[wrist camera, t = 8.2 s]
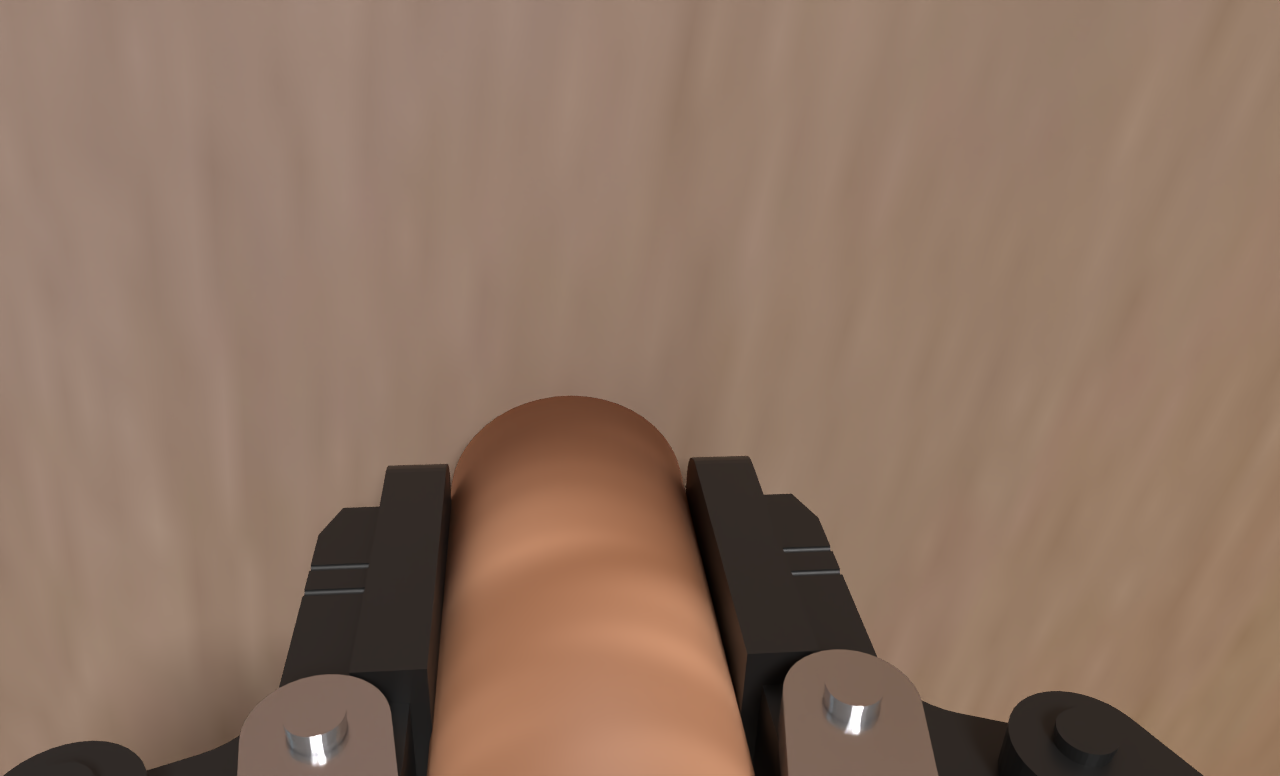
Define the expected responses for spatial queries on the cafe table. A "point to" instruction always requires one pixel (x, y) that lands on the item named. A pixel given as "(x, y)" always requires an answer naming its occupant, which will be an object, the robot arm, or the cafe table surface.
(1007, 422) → the cafe table surface
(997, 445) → the cafe table surface
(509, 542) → the block
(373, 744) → the robot arm
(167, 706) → the cafe table surface
